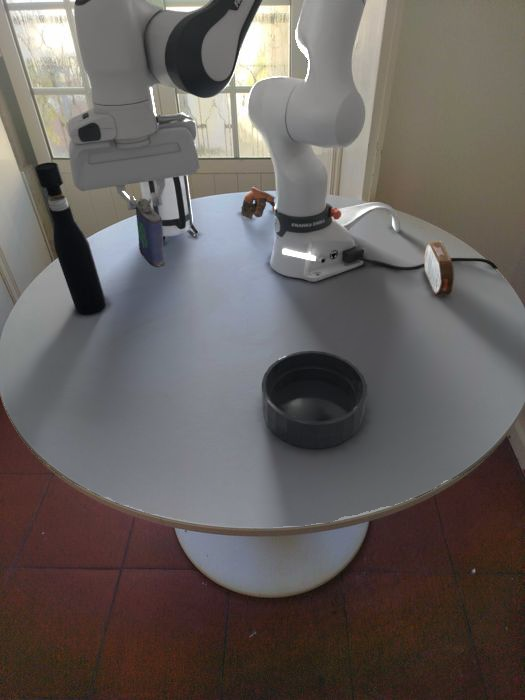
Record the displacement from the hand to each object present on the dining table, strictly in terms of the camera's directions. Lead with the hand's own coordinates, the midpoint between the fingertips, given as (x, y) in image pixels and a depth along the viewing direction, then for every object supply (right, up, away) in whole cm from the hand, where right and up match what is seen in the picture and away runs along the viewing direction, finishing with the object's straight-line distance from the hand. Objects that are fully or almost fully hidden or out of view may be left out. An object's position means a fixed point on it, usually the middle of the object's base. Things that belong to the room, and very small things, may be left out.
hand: (144, 206), depth 80 cm
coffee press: (-3, +7, +47) cm, 47 cm away
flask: (0, -8, +5) cm, 9 cm away
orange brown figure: (+19, +14, +55) cm, 60 cm away
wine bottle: (-17, -15, +21) cm, 31 cm away
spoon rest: (+45, +7, +45) cm, 64 cm away
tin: (+58, -10, +25) cm, 64 cm away
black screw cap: (+28, -35, -4) cm, 45 cm away
